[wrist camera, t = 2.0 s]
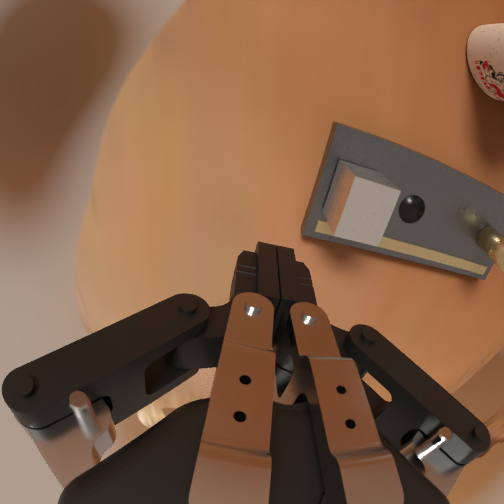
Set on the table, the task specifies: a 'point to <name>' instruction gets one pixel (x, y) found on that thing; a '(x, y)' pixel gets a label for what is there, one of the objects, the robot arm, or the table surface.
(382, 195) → the light grey block
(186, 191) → the table surface
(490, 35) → the teacup with lid
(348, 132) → the plate
